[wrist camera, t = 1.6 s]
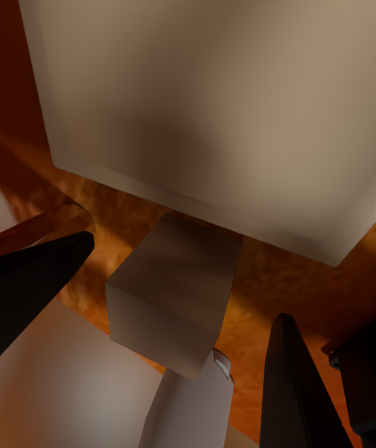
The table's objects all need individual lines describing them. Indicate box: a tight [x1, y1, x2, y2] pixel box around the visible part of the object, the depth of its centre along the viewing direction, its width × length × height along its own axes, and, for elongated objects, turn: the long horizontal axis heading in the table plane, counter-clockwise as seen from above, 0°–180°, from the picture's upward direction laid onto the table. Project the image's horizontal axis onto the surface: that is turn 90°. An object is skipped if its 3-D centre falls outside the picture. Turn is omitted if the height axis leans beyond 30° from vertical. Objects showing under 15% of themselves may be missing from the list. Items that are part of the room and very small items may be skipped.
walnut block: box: [105, 213, 243, 382], centre depth 12 cm, size 5×5×6 cm
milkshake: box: [0, 203, 95, 256], centre depth 13 cm, size 5×5×10 cm
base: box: [18, 0, 376, 268], centre depth 7 cm, size 14×12×3 cm
